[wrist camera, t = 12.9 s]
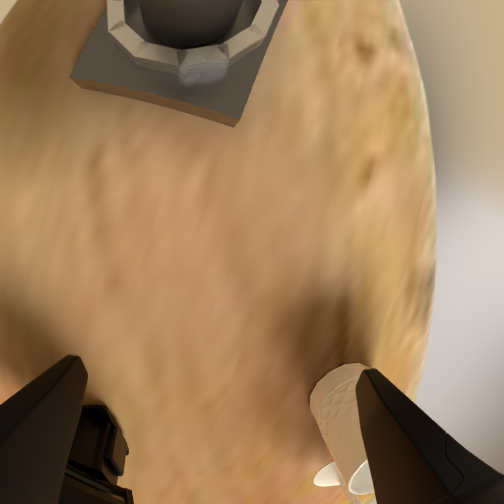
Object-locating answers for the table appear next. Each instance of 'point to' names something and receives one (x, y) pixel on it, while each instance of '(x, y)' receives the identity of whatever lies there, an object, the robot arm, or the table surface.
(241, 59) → the camera body
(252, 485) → the table surface
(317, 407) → the white cup
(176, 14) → the lens
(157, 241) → the table surface
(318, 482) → the champagne flute
